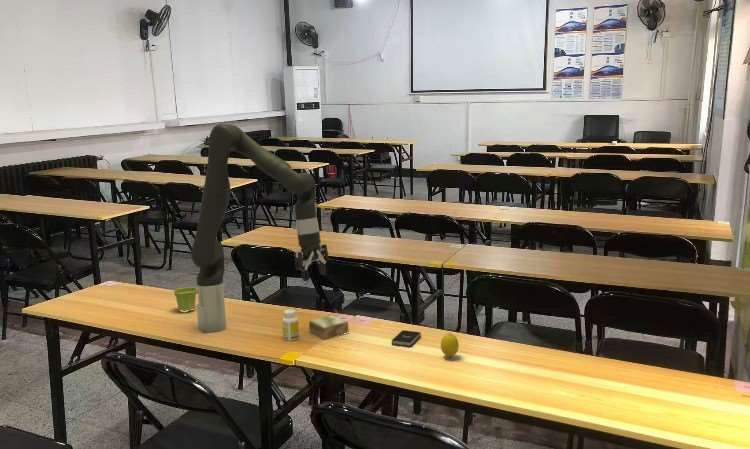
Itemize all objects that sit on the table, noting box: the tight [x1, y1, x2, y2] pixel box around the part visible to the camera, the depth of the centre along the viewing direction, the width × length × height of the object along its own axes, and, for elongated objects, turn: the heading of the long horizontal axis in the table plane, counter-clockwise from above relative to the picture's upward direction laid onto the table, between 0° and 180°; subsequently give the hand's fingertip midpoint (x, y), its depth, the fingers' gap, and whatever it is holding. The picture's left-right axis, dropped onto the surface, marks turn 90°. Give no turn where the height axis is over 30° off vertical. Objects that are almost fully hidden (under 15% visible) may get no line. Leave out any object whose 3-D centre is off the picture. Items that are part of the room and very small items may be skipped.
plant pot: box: [173, 286, 198, 311], centre depth 242 cm, size 9×9×9 cm
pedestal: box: [308, 315, 349, 341], centre depth 212 cm, size 10×10×4 cm
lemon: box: [440, 332, 460, 358], centre depth 187 cm, size 6×6×8 cm
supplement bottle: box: [281, 309, 300, 342], centre depth 207 cm, size 5×5×10 cm
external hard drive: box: [391, 329, 422, 348], centre depth 203 cm, size 7×11×2 cm, turn 157°
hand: (314, 277), depth 206 cm, fingers open, 8 cm apart
